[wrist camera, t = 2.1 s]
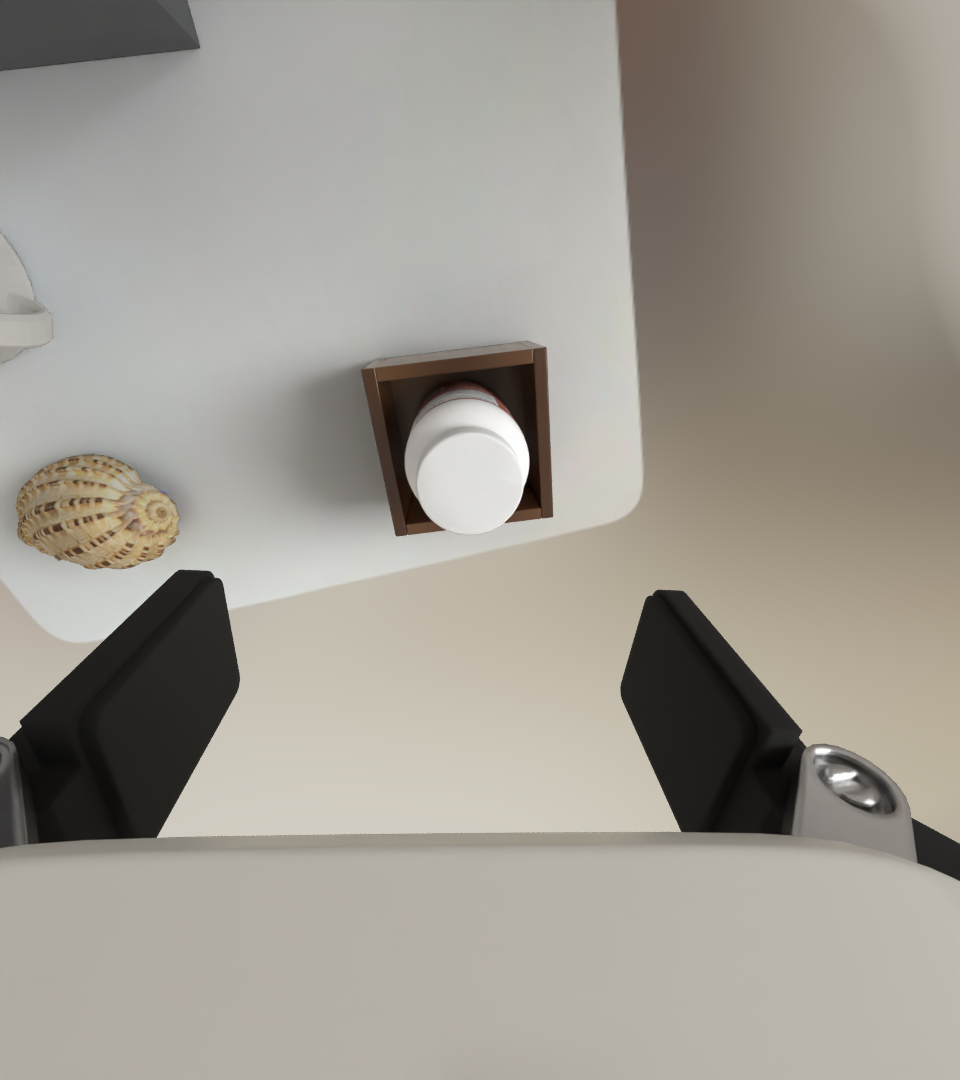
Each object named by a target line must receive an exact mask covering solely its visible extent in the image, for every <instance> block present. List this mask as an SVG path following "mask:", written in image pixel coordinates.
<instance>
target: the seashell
mask: <svg viewBox="0 0 960 1080" xmlns="http://www.w3.org/2000/svg"><path fill="white" fill-rule="evenodd" d="M16 509H17V511H18V516H19V522H18V537H19V538H20V539H21V540H22V541H23V542H25V543H26V544H27V545H30V546H33V547H36V548H37V549H38V550H39V551H40V552H42V553H46V554H48V555H50V556H54V557H55V558H56V559H58V560H62V559H63V560H67V561H70V562H73V563H76V564H79V565H82V566H83V567H85V568H88V569H100V568H112V569H125V568H131V567H133V566H136V565H138V564H140V563H142V562H145V561H150V560H153V559H155V558H158V557H160V556H161V555H162V554H163V551H164V549H165V548H166V547H167V546H169V545H171V544H173V543H174V542H175V541H176V540H175V538H174V537H175V536H177V535H178V534H179V531H178V521H179V519H180V517H181V516H180V515H179V514H178V512H177V509H176V503H174V502H173V501H171V500H170V499H169V497H168V495H167V494H166V493H164V492H161V491H159V490H157V489H156V488H154V487H153V486H151V485H148V484H144V483H142V482H141V480H140V479H139V477H138V475H137V472H136V470H134V469H132V468H131V467H129V466H128V465H126V464H124V463H122V462H120V461H118V460H116V459H114V458H111V457H107V456H103V455H81V456H74V457H70V458H66V459H63V460H60V461H58V462H56V463H54V464H52V465H50V466H47V467H45V468H44V469H42V470H40V471H39V472H38V473H37V474H35V475H34V476H33V477H32V478H31V479H30V480H29V481H28V482H27V483H26V484H25V485H24V486H23V487H22V489H21V490H20V492H19V494H18V498H17V503H16Z"/></svg>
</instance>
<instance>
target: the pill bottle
mask: <svg viewBox="0 0 960 1080" xmlns="http://www.w3.org/2000/svg"><path fill="white" fill-rule="evenodd" d="M405 471H406V476H407V479H408V482H409V485H410V487H411V489H412V491H413V493H414V494H415V496H416V497H417V499H418V500H419V502H420V504H421V506H422V508H423V510H424V512H425V513H426V514H427V516H428V517H429V518H430V519H431V520H432V521H433V522H434V523H436V524H437V525H438V526H440V527H441V528H443V529H445V530H447V531H450V532H453V533H457V534H462V535H476V534H482V533H485V532H489V531H491V530H493V529H495V528H497V527H499V526H500V525H502V524H503V523H504V522H505V521H507V520H508V519H509V518H510V517H511V515H512V514H513V513H514V511H515V510H516V508H517V507H518V505H519V503H520V500H521V497H522V494H523V487H524V485H525V483H526V480H527V476H528V472H529V452H528V447H527V444H526V441H525V438H524V436H523V433H522V431H521V430H520V428H519V426H518V424H517V423H516V421H515V420H514V418H513V417H512V415H511V414H510V412H509V411H508V409H507V408H506V406H505V405H504V403H503V402H502V400H501V399H500V398H499V397H498V396H497V395H496V394H495V393H494V392H493V391H491V390H490V389H489V388H487V387H485V386H483V385H481V384H478V383H475V382H470V381H455V382H451V383H447V384H444V385H442V386H440V387H438V388H437V389H435V390H434V391H432V392H431V393H430V394H429V395H428V396H427V397H426V398H425V399H424V401H423V402H422V404H421V405H420V407H419V409H418V411H417V414H416V416H415V419H414V422H413V426H412V429H411V432H410V435H409V438H408V441H407V445H406V451H405Z"/></svg>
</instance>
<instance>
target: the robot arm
mask: <svg viewBox="0 0 960 1080" xmlns="http://www.w3.org/2000/svg"><path fill="white" fill-rule="evenodd" d="M239 682H240V676H239V669H238V664H237V658H236V653H235V647H234V642H233V636H232V632H231V626H230V620H229V614H228V609H227V603H226V598H225V593H224V587H223V583H222V581H221V579H219V578H214V575H213V574H212V572H210V571H198V570H178V571H177V572H175V573H174V574H173V575H172V576H171V577H170V578H169V579H168V580H167V581H166V582H165V583H164V584H163V585H162V586H161V587H160V588H159V589H158V590H156V591H155V592H154V593H153V594H152V595H151V596H150V597H149V598H148V599H147V600H146V601H145V602H144V603H143V604H142V605H141V606H140V607H139V608H138V609H137V610H136V611H134V612H133V613H132V614H131V615H130V616H129V617H128V618H127V619H126V620H125V621H124V622H123V623H122V624H121V625H120V626H119V627H118V628H117V629H116V630H115V631H114V632H113V633H111V634H110V635H109V636H108V637H107V638H106V639H105V640H104V641H103V642H102V643H101V644H100V645H99V646H98V647H97V648H96V649H95V650H94V651H93V652H92V653H91V654H90V655H88V656H87V657H86V658H85V659H84V660H83V661H82V662H81V663H80V664H79V665H78V666H77V667H76V668H75V669H74V670H73V671H72V672H71V673H70V674H69V675H68V676H67V677H65V678H64V679H63V680H62V681H61V682H60V683H59V684H58V685H57V686H56V687H55V688H54V689H53V690H52V691H51V692H50V693H49V694H48V695H47V696H46V697H45V698H44V699H43V700H41V701H40V702H39V703H38V704H37V705H36V706H35V707H34V708H33V709H32V710H31V711H30V712H29V713H28V714H27V715H26V716H25V717H24V718H23V719H22V720H20V724H21V725H22V727H21V728H20V729H19V730H18V731H17V732H16V733H15V734H14V735H13V736H12V737H11V738H10V739H9V740H8V739H6V738H4V737H0V1080H960V844H959V843H957V842H955V841H954V840H952V839H950V838H948V837H946V836H944V835H942V834H940V833H939V832H937V831H935V830H933V829H931V828H929V827H928V826H926V825H924V824H922V823H920V822H918V821H917V820H915V819H913V818H911V812H910V807H909V804H908V802H907V799H906V797H905V795H904V793H903V792H902V791H901V789H900V788H899V786H898V785H897V784H896V783H895V782H894V781H893V780H892V779H891V778H890V777H889V776H888V775H887V774H886V773H885V772H884V771H882V770H881V769H880V768H878V767H877V766H876V765H874V764H873V763H871V762H870V761H868V760H867V759H865V758H863V757H861V756H859V755H857V754H856V753H854V752H851V751H849V750H846V749H844V748H841V747H838V746H834V745H828V744H814V745H811V746H809V747H806V746H805V745H804V744H803V742H802V741H801V740H800V739H799V736H800V734H801V733H802V730H801V729H800V728H799V726H798V725H797V724H796V723H795V722H794V721H793V719H792V718H791V717H790V716H789V715H788V713H787V712H786V711H785V710H784V709H783V708H782V707H781V705H780V704H779V703H778V702H777V700H776V699H775V698H774V697H773V696H772V695H771V693H770V692H769V691H768V690H767V689H766V687H765V686H764V685H763V684H762V683H761V682H760V680H759V679H758V678H757V677H756V676H755V674H754V673H753V672H752V671H751V670H750V669H749V667H748V666H747V665H746V664H745V663H744V661H743V660H742V659H741V658H740V657H739V656H738V654H737V653H736V652H735V651H734V650H733V648H732V647H731V646H730V645H729V644H728V643H727V641H726V640H725V639H724V638H723V637H722V635H721V634H720V633H719V632H718V631H717V630H716V628H715V627H714V626H713V625H712V624H711V622H710V621H709V620H708V619H707V618H706V616H704V614H703V613H702V612H701V611H700V609H699V608H698V607H697V606H696V605H695V604H694V602H693V601H692V600H691V599H690V598H689V597H688V595H687V594H686V593H684V592H683V591H675V590H657V591H655V592H654V594H653V596H648V597H647V598H646V600H645V603H644V606H643V610H642V613H641V617H640V620H639V624H638V627H637V631H636V634H635V637H634V641H633V645H632V648H631V651H630V655H629V659H628V662H627V665H626V669H625V672H624V675H623V680H622V682H621V697H622V700H623V703H624V705H625V707H626V709H627V712H628V714H629V716H630V718H631V720H632V723H633V725H634V727H635V730H636V732H637V734H638V736H639V738H640V741H641V743H642V745H643V747H644V750H645V752H646V754H647V756H648V758H649V761H650V763H651V765H652V767H653V769H654V772H655V774H656V776H657V779H658V780H659V783H660V785H661V787H662V790H663V792H664V794H665V796H666V799H667V801H668V803H669V805H670V807H671V809H672V812H673V814H674V816H675V819H676V820H677V823H678V825H679V828H680V830H681V832H600V833H599V832H598V833H597V832H591V833H589V832H583V833H581V832H580V833H579V832H577V833H576V832H573V833H572V832H569V833H568V832H566V833H433V834H343V835H279V836H278V835H277V836H217V837H216V836H212V837H169V838H157V836H158V834H159V832H160V830H161V829H162V827H163V825H164V823H165V821H166V820H167V818H168V816H169V814H170V812H171V811H172V809H173V807H174V805H175V803H176V801H177V800H178V798H179V796H180V794H181V792H182V791H183V789H184V787H185V785H186V783H187V782H188V780H189V778H190V776H191V774H192V773H193V771H194V769H195V767H196V765H197V764H198V762H199V760H200V758H201V756H202V755H203V753H204V751H205V749H206V747H207V746H208V744H209V742H210V740H211V738H212V737H213V735H214V733H215V731H216V729H217V728H218V726H219V724H220V722H221V720H222V718H223V717H224V715H225V713H226V711H227V709H228V708H229V706H230V704H231V702H232V700H233V699H234V697H235V695H236V693H237V691H238V688H239Z"/></svg>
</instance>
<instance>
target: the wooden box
mask: <svg viewBox="0 0 960 1080" xmlns="http://www.w3.org/2000/svg"><path fill="white" fill-rule="evenodd" d="M361 372H362V377H363V382H364V387H365V391H366V396H367V401H368V406H369V411H370V415H371V420H372V425H373V430H374V434H375V439H376V444H377V449H378V453H379V458H380V463H381V468H382V473H383V477H384V482H385V487H386V492H387V496H388V501H389V506H390V511H391V516H392V520H393V525H394V530H395V535H396V536H404V535H407V534H408V535H411V534H419V533H428V532H436V531H444V530H445V529H443V528H441V527H440V526H438V525H437V524H436V523H434V522H433V521H432V520H431V519H430V518H429V517H428V516H427V514H426V513H425V512H424V510H423V508H422V506H421V504H420V502H419V500H418V499H417V497H416V496H415V494H414V493H413V491H412V489H411V487H410V485H409V482H408V479H407V476H406V471H405V451H406V445H407V441H408V438H409V435H410V432H411V429H412V426H413V422H414V419H415V416H416V414H417V411H418V409H419V407H420V405H421V404H422V402H423V401H424V399H425V398H426V397H427V396H428V395H429V394H430V393H431V392H432V391H434V390H435V389H437V388H438V387H440V386H442V385H444V384H447V383H451V382H455V381H470V382H475V383H478V384H481V385H483V386H485V387H487V388H489V389H490V390H491V391H493V392H494V393H495V394H496V395H497V396H498V397H499V398H500V399H501V400H502V402H503V403H504V405H505V406H506V408H507V409H508V411H509V412H510V414H511V415H512V417H513V418H514V420H515V421H516V423H517V424H518V426H519V428H520V430H521V431H522V433H523V436H524V438H525V441H526V444H527V447H528V452H529V472H528V476H527V480H526V483H525V485H524V487H523V494H522V497H521V500H520V503H519V505H518V507H517V508H516V510H515V511H514V513H513V514H512V515H511V517H510V518H509V519H508V520H507V521H505V522H504V523H509V522H517V521H525V520H533V519H540V518H541V517H542V518H550V517H553V499H552V473H551V447H550V421H549V395H548V369H547V348H546V347H544V346H541V345H538V344H535V343H532V342H530V341H524V342H516V343H507V344H499V345H491V346H482V347H474V348H466V349H457V350H449V351H441V352H432V353H424V354H416V355H407V356H399V357H390V358H382V359H376V360H375V361H373V362H372V363H370V364H369V365H367V366H366V367H364V368H363V369H361Z"/></svg>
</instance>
